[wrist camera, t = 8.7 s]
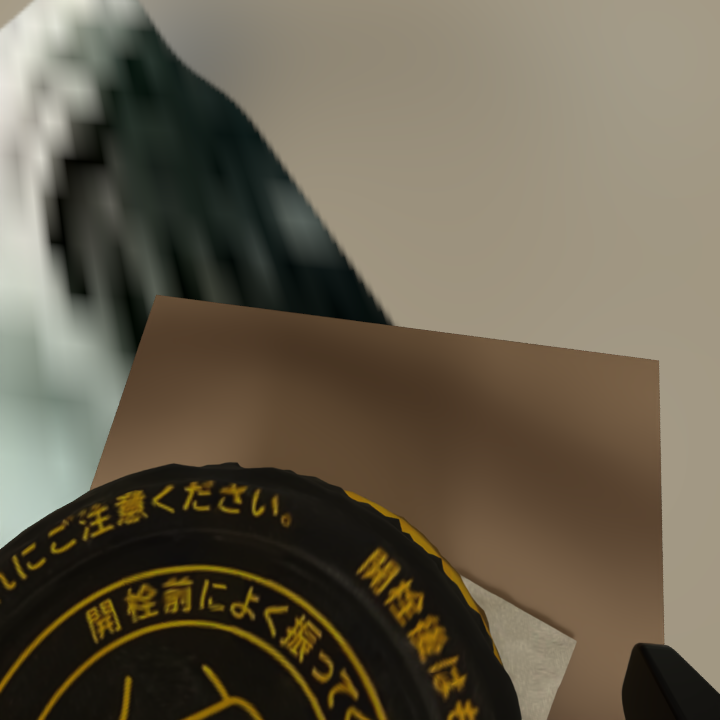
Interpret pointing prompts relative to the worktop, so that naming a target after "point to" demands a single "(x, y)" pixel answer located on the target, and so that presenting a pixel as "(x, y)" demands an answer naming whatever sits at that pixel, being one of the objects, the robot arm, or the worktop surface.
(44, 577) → the yellow black cylinder
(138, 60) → the worktop surface
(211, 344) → the walnut board
